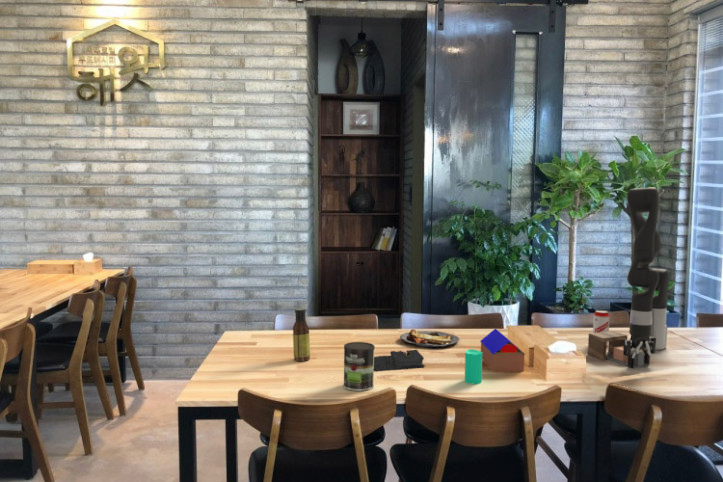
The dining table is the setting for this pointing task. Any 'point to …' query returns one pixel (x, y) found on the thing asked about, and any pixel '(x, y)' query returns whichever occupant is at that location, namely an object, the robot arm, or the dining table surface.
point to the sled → (638, 362)
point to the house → (501, 353)
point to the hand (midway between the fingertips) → (638, 366)
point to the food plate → (429, 338)
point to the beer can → (601, 322)
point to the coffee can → (358, 366)
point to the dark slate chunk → (399, 361)
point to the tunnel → (604, 343)
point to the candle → (473, 366)
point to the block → (620, 354)
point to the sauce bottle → (301, 337)
